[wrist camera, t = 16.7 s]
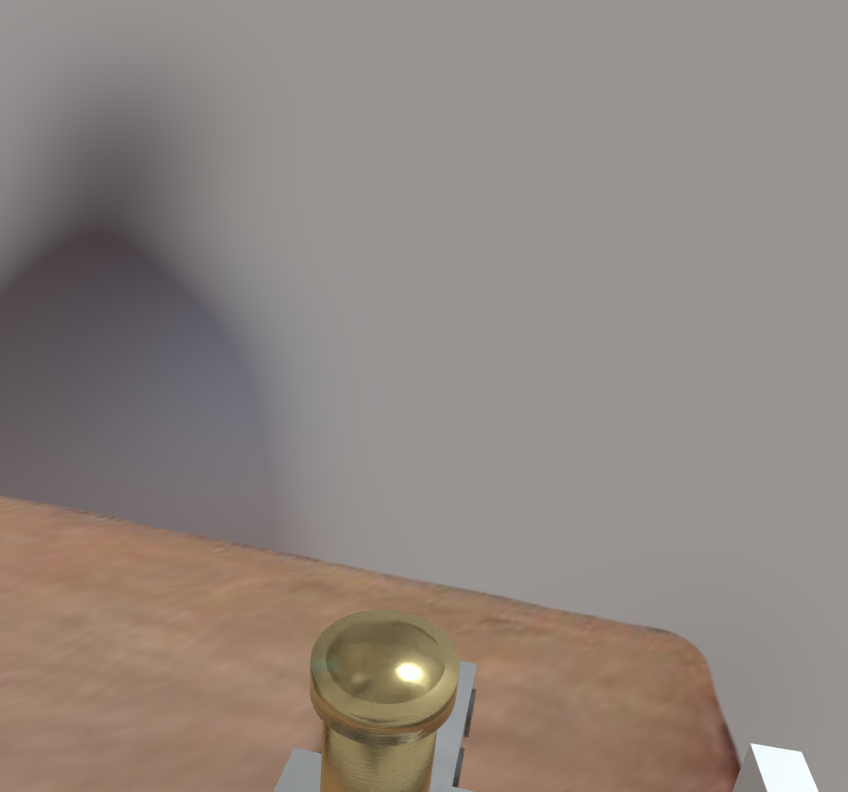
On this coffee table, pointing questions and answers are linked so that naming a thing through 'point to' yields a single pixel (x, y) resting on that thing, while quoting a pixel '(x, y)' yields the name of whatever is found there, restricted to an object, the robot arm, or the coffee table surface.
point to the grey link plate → (304, 767)
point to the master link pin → (381, 700)
